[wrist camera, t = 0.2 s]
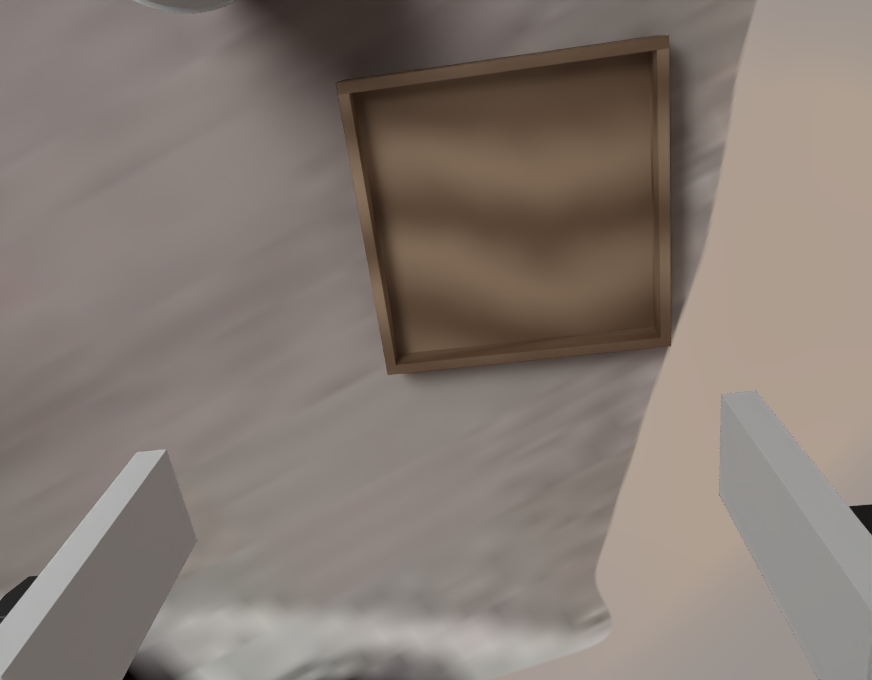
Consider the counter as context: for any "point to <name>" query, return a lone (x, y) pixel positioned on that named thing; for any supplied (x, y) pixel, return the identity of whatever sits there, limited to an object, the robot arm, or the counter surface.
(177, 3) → the disposable coffee cup
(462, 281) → the box
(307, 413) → the counter surface
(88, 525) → the robot arm
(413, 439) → the counter surface
